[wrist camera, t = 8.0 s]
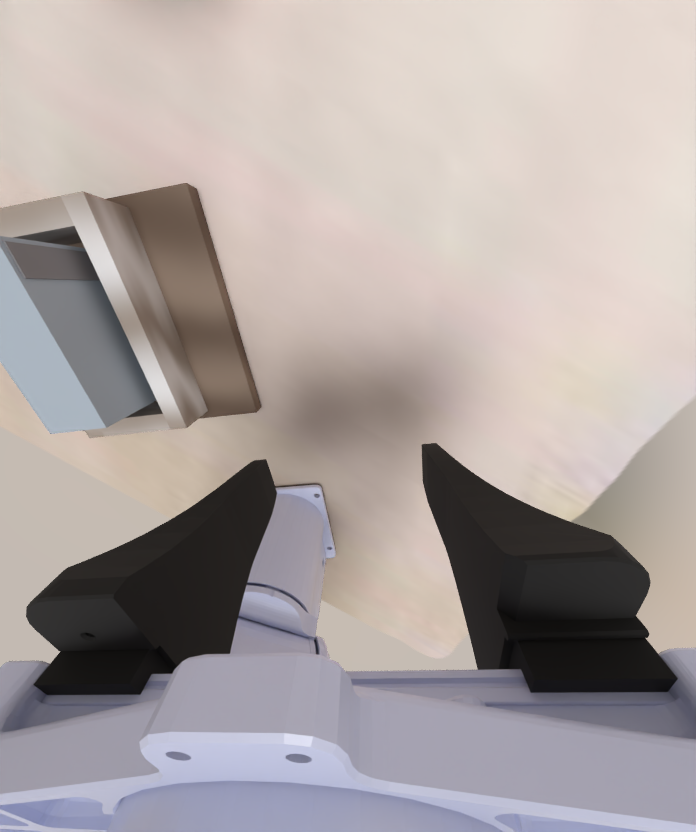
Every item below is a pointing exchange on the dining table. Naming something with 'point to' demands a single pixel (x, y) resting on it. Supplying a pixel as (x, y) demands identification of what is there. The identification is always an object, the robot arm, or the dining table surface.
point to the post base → (155, 297)
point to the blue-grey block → (65, 339)
